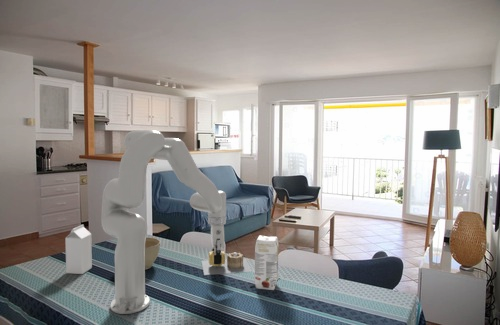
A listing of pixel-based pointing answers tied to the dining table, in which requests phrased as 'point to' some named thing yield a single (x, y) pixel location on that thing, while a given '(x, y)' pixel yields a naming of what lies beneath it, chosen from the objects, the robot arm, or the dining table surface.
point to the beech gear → (235, 260)
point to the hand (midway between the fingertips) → (216, 260)
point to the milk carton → (78, 251)
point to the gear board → (224, 267)
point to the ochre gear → (211, 258)
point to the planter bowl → (151, 251)
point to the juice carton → (266, 262)
